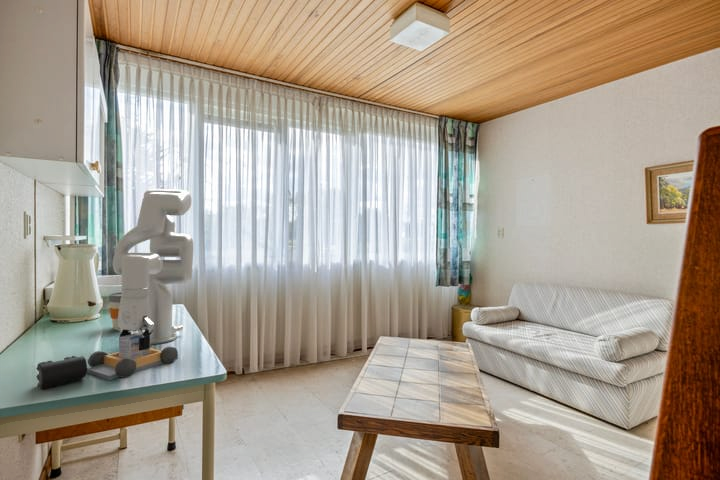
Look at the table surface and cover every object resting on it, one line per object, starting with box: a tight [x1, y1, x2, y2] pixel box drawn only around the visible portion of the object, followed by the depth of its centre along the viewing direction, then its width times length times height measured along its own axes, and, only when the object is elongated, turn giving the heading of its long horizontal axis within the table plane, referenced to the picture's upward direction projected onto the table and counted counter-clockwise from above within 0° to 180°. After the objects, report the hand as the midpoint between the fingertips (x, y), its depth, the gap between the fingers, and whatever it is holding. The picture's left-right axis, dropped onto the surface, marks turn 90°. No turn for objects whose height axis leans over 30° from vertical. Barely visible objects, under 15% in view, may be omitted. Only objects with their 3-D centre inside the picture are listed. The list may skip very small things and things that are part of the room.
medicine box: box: [118, 331, 150, 360], centre depth 120 cm, size 8×4×9 cm, turn 162°
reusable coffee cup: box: [108, 291, 122, 331], centre depth 167 cm, size 13×13×15 cm
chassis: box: [87, 344, 179, 381], centre depth 120 cm, size 22×16×5 cm
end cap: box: [36, 355, 88, 390], centre depth 105 cm, size 10×7×7 cm
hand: (134, 347), depth 120 cm, fingers open, 9 cm apart
